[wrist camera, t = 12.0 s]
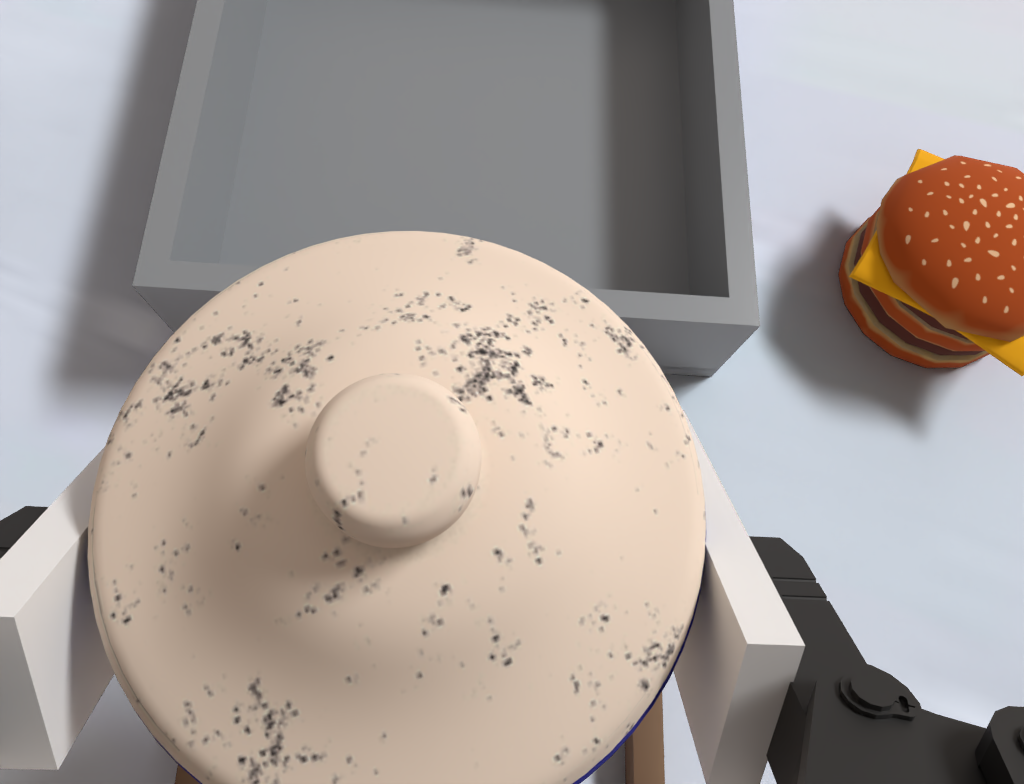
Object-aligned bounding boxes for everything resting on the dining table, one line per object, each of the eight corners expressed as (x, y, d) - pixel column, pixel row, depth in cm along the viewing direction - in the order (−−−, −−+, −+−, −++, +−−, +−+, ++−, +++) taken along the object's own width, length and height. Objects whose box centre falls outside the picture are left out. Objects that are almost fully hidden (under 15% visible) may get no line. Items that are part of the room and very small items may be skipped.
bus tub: (689, -16, 44) (723, -114, 38) (711, 376, 36) (759, 325, 30) (263, -56, 43) (234, -163, 37) (185, 344, 34) (132, 285, 29)
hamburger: (1028, 263, 39) (1137, 192, 33) (971, 408, 37) (1079, 360, 30) (870, 179, 40) (946, 95, 34) (801, 314, 37) (872, 248, 31)
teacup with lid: (232, 427, 20) (-44, 156, 9) (559, 371, 21) (672, 71, 10) (280, 944, 16) (-92, 1572, 5) (673, 840, 17) (1046, 1171, 6)
